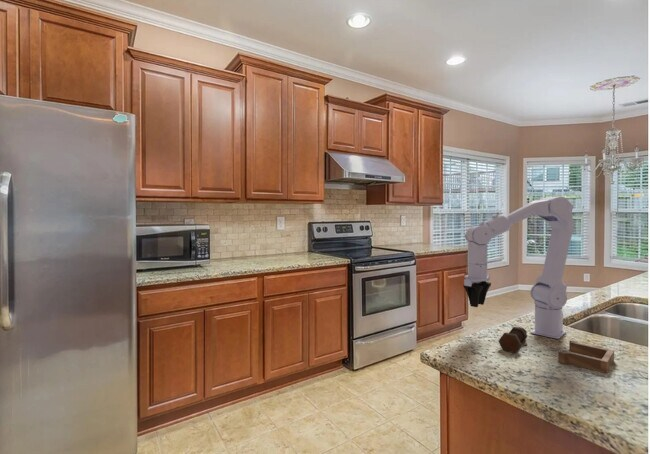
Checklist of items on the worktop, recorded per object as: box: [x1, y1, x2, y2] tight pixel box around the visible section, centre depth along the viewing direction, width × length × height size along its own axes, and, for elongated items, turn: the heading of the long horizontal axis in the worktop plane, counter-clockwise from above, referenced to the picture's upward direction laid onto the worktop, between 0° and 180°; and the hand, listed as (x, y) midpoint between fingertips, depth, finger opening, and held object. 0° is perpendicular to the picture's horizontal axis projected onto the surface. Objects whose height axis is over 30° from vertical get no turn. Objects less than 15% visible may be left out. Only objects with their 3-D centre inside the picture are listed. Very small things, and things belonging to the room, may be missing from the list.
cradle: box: [557, 339, 615, 374], centre depth 91 cm, size 13×10×3 cm
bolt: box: [498, 326, 528, 354], centre depth 103 cm, size 6×5×15 cm
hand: (477, 305), depth 112 cm, fingers open, 4 cm apart
